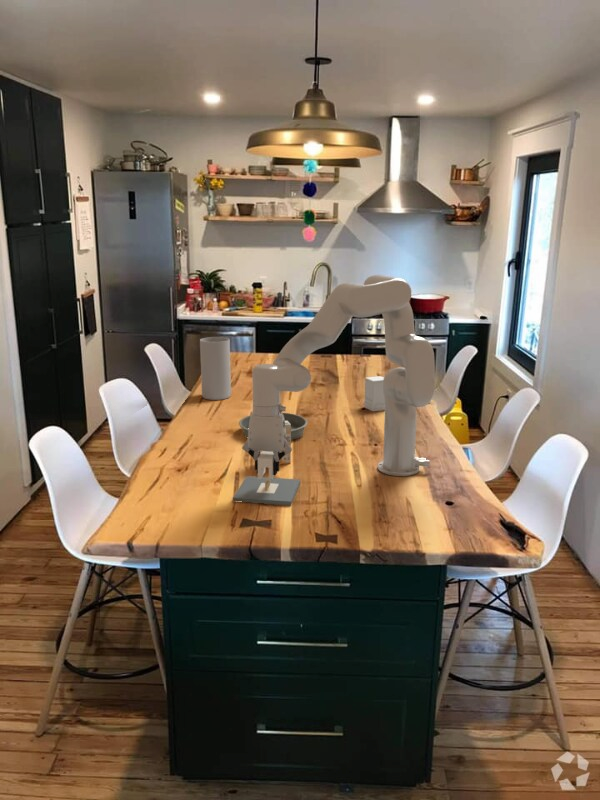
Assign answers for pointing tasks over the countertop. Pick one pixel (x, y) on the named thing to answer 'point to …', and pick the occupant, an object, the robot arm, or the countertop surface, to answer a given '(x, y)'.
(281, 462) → the supplement box
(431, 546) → the countertop surface
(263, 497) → the pin board
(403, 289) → the robot arm
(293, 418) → the cake pan
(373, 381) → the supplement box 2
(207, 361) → the cylinder vase
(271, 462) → the plug housing
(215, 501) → the countertop surface
